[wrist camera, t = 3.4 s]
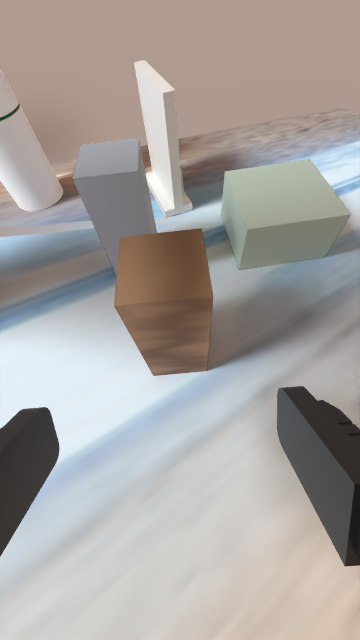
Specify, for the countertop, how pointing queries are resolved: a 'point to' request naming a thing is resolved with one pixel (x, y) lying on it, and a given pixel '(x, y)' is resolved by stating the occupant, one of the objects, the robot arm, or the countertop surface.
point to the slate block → (115, 192)
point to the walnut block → (166, 299)
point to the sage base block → (280, 214)
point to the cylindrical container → (23, 157)
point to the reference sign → (162, 141)
